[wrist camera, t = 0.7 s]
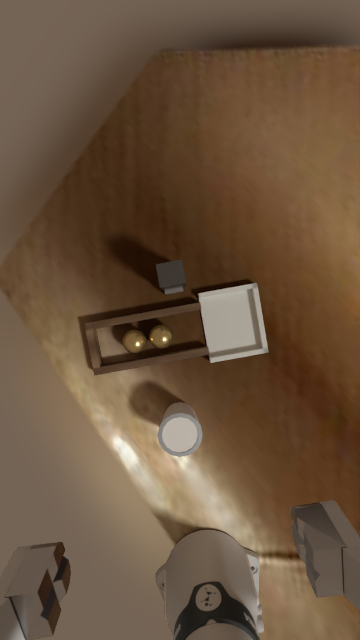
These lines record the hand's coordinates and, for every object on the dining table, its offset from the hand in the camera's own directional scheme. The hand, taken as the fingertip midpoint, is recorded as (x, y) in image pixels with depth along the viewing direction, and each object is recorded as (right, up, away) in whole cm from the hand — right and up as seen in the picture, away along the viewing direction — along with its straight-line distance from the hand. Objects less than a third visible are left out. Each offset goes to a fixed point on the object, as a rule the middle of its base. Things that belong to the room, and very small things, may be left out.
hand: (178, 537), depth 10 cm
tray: (+9, +7, +41) cm, 42 cm away
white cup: (0, -10, +41) cm, 43 cm away
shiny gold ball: (-3, +5, +40) cm, 41 cm away
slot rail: (-5, +5, +40) cm, 41 cm away
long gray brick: (-1, +15, +40) cm, 43 cm away
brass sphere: (-8, +4, +40) cm, 41 cm away
